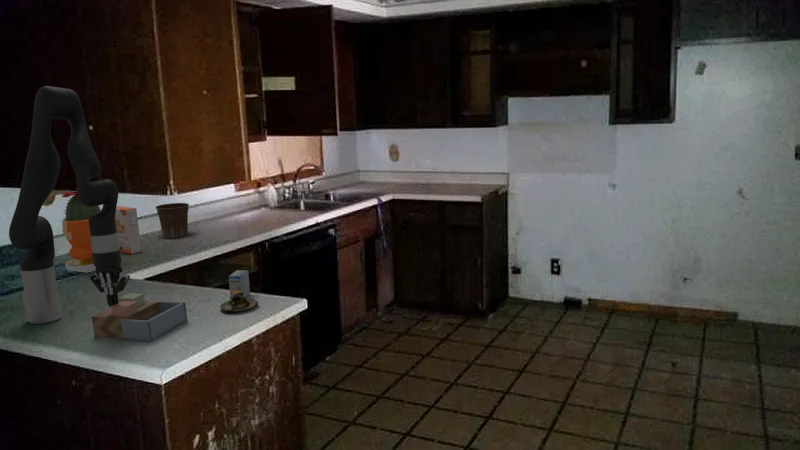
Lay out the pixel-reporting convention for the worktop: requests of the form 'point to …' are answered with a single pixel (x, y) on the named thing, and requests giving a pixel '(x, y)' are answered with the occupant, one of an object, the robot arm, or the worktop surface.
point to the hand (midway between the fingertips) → (113, 305)
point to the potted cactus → (79, 233)
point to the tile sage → (133, 298)
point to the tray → (155, 322)
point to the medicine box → (239, 282)
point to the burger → (238, 303)
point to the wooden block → (111, 324)
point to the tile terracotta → (124, 308)
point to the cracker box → (128, 230)
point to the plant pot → (173, 219)
